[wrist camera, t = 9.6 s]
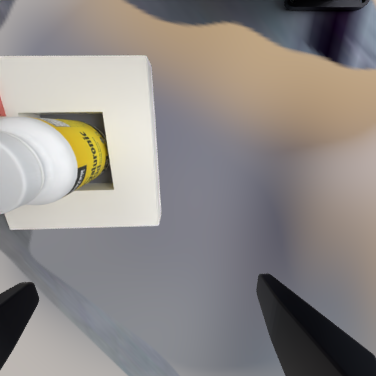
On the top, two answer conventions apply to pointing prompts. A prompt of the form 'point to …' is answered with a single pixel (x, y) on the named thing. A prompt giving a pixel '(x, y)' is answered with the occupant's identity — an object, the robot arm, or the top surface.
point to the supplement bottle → (47, 159)
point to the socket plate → (100, 118)
